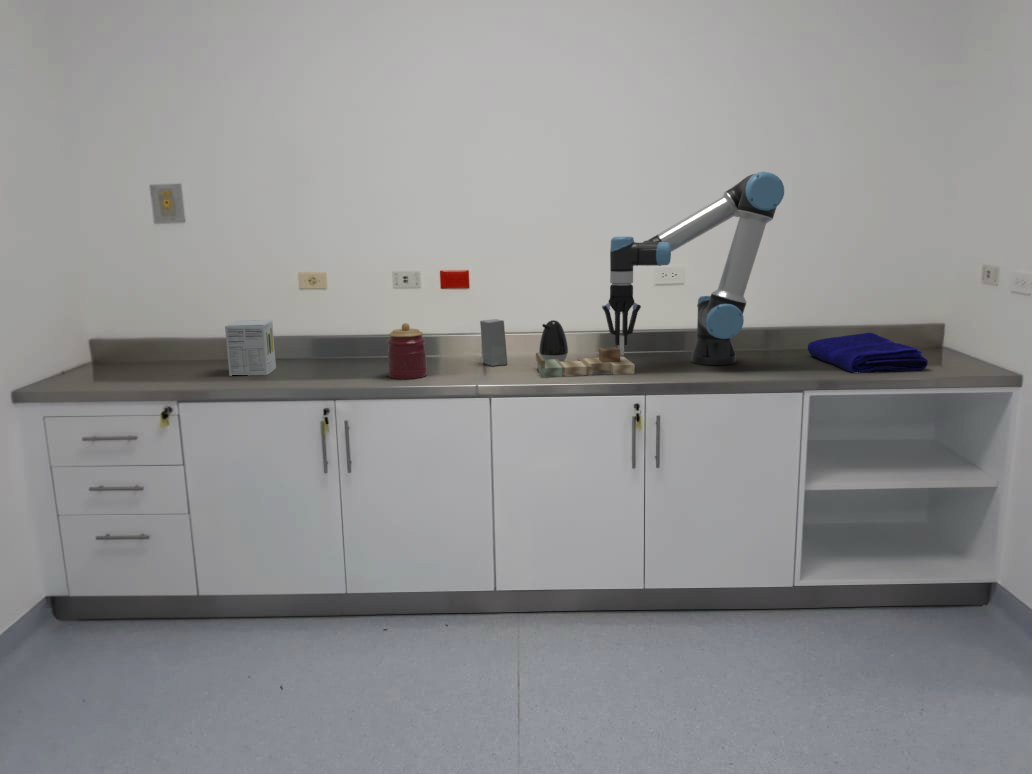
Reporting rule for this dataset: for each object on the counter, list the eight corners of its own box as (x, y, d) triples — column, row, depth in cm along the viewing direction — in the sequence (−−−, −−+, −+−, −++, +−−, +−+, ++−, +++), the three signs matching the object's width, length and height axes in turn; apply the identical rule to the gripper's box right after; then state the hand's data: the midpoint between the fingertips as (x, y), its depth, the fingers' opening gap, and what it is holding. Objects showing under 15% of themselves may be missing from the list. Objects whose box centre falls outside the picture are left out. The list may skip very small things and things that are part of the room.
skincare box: (507, 365, 290) (506, 320, 287) (488, 366, 287) (487, 321, 284) (499, 361, 298) (498, 317, 295) (480, 363, 295) (479, 319, 292)
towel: (850, 375, 262) (852, 347, 260) (803, 356, 297) (804, 332, 295) (929, 372, 264) (932, 345, 262) (874, 354, 298) (875, 330, 297)
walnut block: (616, 358, 280) (616, 347, 279) (620, 361, 274) (620, 350, 273) (598, 359, 280) (598, 347, 279) (602, 362, 274) (602, 350, 273)
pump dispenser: (533, 363, 293) (532, 320, 290) (553, 359, 300) (552, 317, 297) (553, 366, 285) (553, 322, 282) (574, 362, 293) (573, 319, 289)
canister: (429, 372, 280) (427, 320, 277) (424, 379, 268) (422, 325, 264) (391, 372, 281) (389, 321, 277) (385, 380, 268) (382, 326, 265)
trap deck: (623, 365, 285) (623, 349, 284) (634, 373, 269) (634, 357, 268) (536, 368, 282) (535, 352, 281) (542, 377, 267) (541, 360, 265)
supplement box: (268, 375, 281) (263, 324, 277) (228, 376, 280) (224, 325, 276) (277, 368, 294) (273, 319, 290) (239, 369, 293) (235, 320, 289)
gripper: (638, 282, 275) (637, 352, 280) (599, 283, 274) (599, 353, 279) (643, 284, 268) (642, 356, 273) (604, 285, 267) (604, 357, 272)
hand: (620, 354), depth 276 cm, fingers closed
